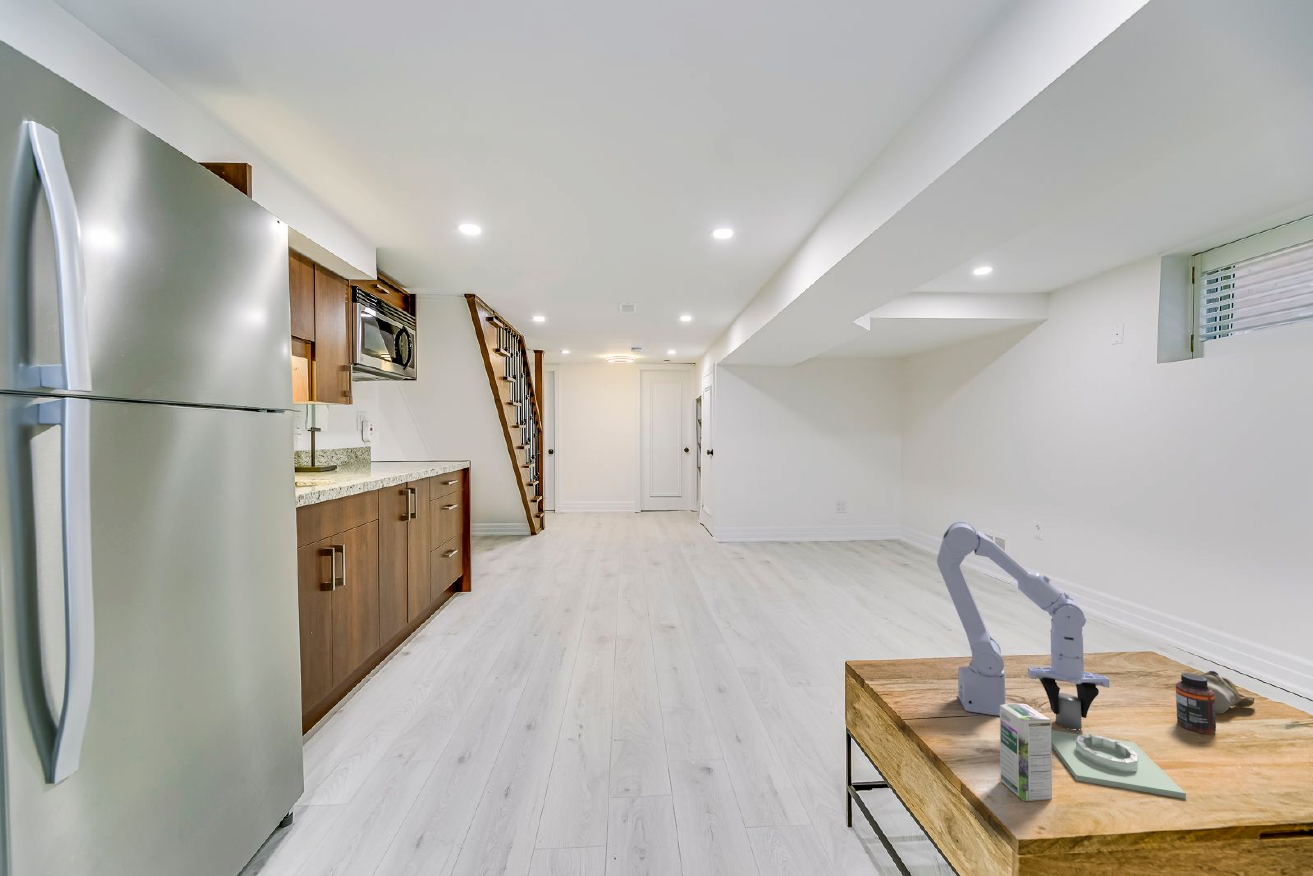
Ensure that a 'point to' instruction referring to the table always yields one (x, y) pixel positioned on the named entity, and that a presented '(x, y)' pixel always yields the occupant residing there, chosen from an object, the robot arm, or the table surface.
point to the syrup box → (1025, 752)
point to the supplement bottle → (1195, 704)
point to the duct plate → (1142, 780)
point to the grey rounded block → (1069, 711)
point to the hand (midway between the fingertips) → (1068, 713)
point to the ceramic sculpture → (1225, 693)
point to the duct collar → (1104, 761)
